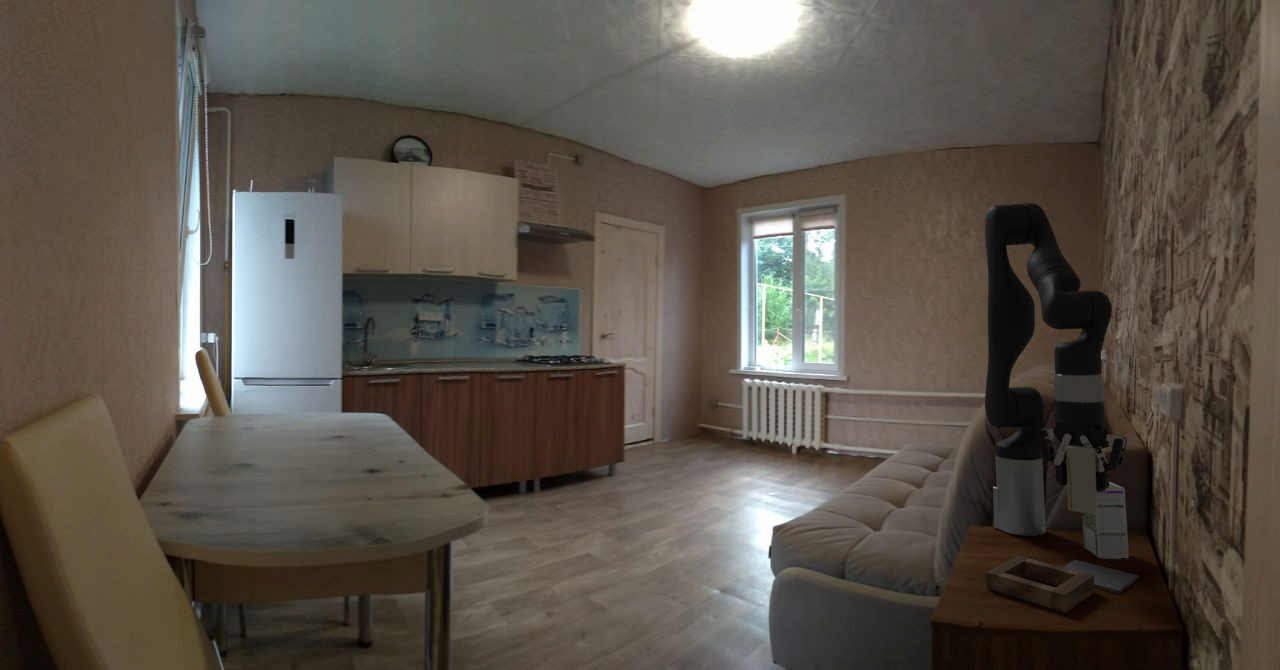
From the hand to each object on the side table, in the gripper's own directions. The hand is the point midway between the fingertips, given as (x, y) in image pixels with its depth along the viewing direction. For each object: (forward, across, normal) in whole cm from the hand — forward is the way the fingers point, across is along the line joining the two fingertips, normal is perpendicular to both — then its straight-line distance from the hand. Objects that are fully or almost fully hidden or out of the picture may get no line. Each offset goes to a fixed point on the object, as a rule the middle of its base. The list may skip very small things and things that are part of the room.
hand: (1081, 487), depth 111 cm
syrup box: (+17, +2, -16) cm, 24 cm away
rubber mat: (+17, -1, -2) cm, 17 cm away
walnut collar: (+17, +2, +12) cm, 21 cm away
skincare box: (+4, 0, 0) cm, 4 cm away
